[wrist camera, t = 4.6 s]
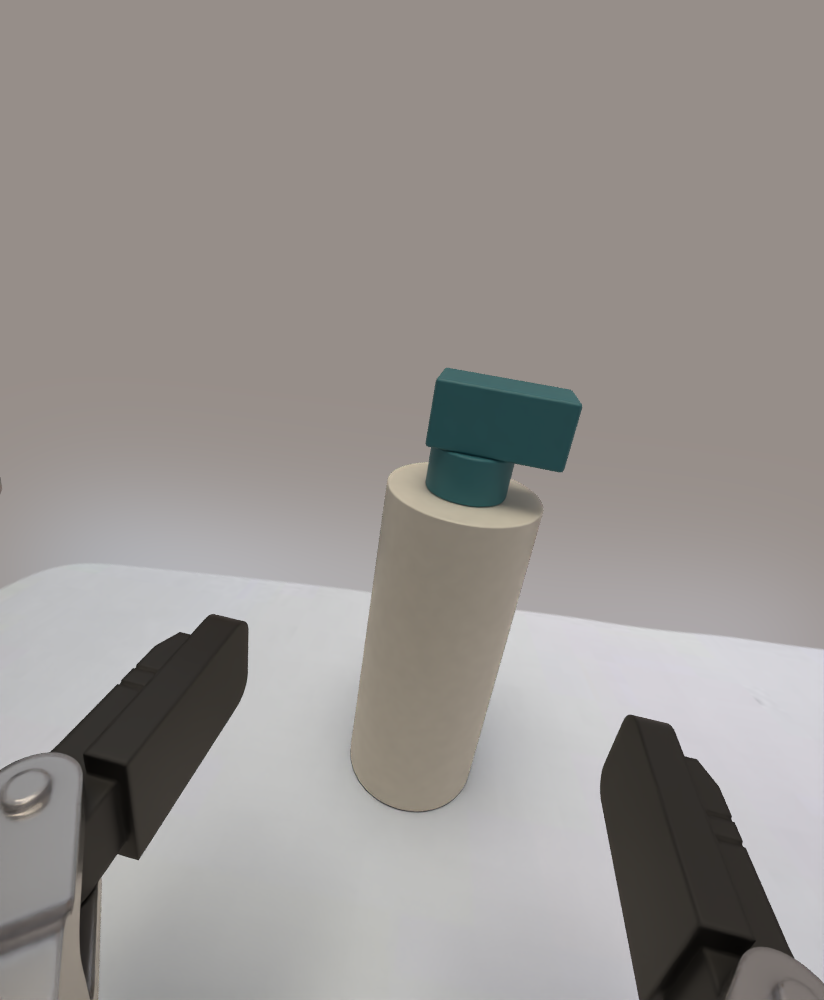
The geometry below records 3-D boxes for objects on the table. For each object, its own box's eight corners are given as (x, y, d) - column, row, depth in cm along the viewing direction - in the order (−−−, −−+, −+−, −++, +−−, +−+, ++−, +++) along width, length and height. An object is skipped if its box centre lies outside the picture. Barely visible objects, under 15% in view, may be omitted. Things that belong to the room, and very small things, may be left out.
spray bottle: (334, 792, 19) (385, 378, 12) (367, 694, 23) (417, 355, 17) (468, 828, 18) (592, 416, 12) (475, 721, 23) (568, 382, 16)
